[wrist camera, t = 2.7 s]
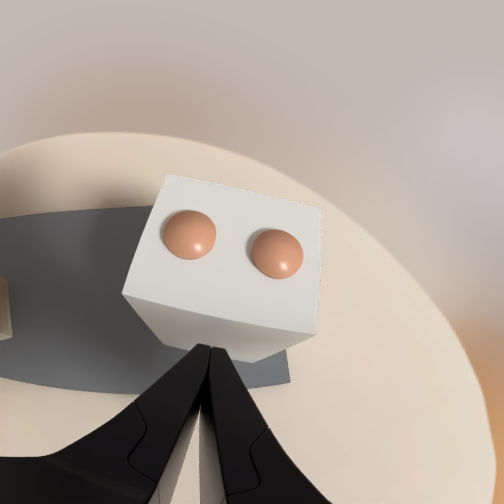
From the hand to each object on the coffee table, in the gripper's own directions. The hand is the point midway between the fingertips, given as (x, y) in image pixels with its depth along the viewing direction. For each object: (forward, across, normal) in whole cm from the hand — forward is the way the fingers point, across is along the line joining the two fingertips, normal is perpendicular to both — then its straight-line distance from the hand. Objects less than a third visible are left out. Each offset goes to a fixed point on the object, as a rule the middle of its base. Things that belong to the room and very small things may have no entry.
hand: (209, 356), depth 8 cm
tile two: (+7, 0, +3) cm, 8 cm away
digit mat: (+7, +9, +4) cm, 12 cm away
